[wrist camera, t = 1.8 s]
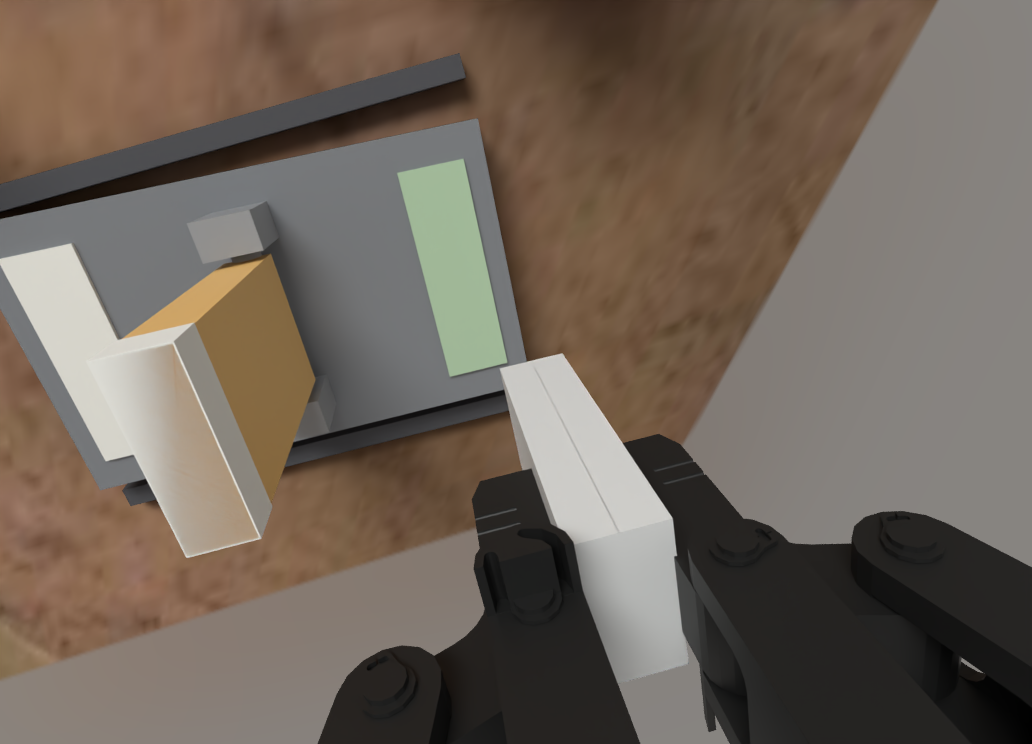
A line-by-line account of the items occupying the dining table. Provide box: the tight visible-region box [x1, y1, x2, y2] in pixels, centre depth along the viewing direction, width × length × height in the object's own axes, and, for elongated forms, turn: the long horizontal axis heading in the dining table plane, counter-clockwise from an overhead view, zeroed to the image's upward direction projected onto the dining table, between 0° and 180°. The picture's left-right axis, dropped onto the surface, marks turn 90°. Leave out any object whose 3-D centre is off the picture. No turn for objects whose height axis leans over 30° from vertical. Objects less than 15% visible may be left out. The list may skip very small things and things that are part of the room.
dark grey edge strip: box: [122, 390, 509, 506], centre depth 33 cm, size 22×1×1 cm, turn 101°
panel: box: [0, 118, 527, 490], centre depth 28 cm, size 22×13×6 cm, turn 101°
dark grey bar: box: [0, 53, 466, 213], centre depth 27 cm, size 22×1×1 cm, turn 105°
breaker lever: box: [86, 251, 316, 558], centre depth 22 cm, size 2×6×13 cm, turn 11°
